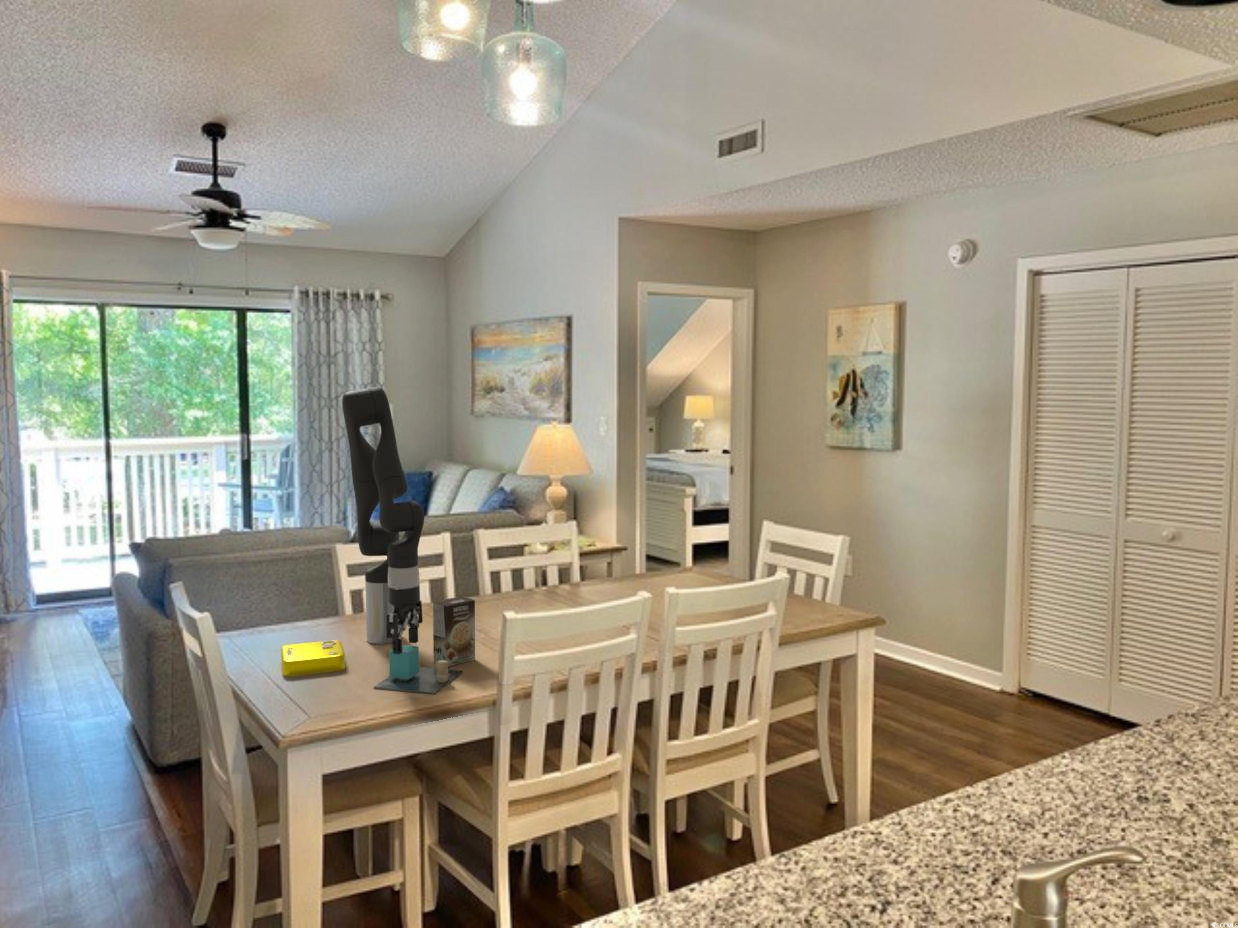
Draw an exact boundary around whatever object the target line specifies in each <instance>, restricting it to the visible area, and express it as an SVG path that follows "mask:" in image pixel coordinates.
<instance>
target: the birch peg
mask: <svg viewBox="0 0 1238 928" xmlns="http://www.w3.org/2000/svg"><path fill="white" fill-rule="evenodd" d="M435 668H436V682H439V683H444V682H447V681H448V670H449V666H448V662H447V661H437V662H435Z"/></svg>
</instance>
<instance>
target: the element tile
mask: <svg viewBox="0 0 1238 928" xmlns="http://www.w3.org/2000/svg"><path fill="white" fill-rule="evenodd" d="M280 648H281V649H280V655H281V656H280V657H281V671H282V676H284V677H286V678H287V677H288V678H289V677H297V676H298V677H300V676H308V675H307V674H309V675H315V674H324V673H325V672H326V673H332V672H333V671H335V672H339V671H340V670H341V671H343V669H344V670H345V669H346V655H345V650H344V646H343V645H342V641H341V640H339V639H333V640H332V639H331V640H329V639H328V640H323V641H322V640H321V641H311V642H304V643H302V642H301V643H292V644H284V645H283V646H282V647H280ZM326 673H325V674H326ZM333 673H334V672H333Z"/></svg>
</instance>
